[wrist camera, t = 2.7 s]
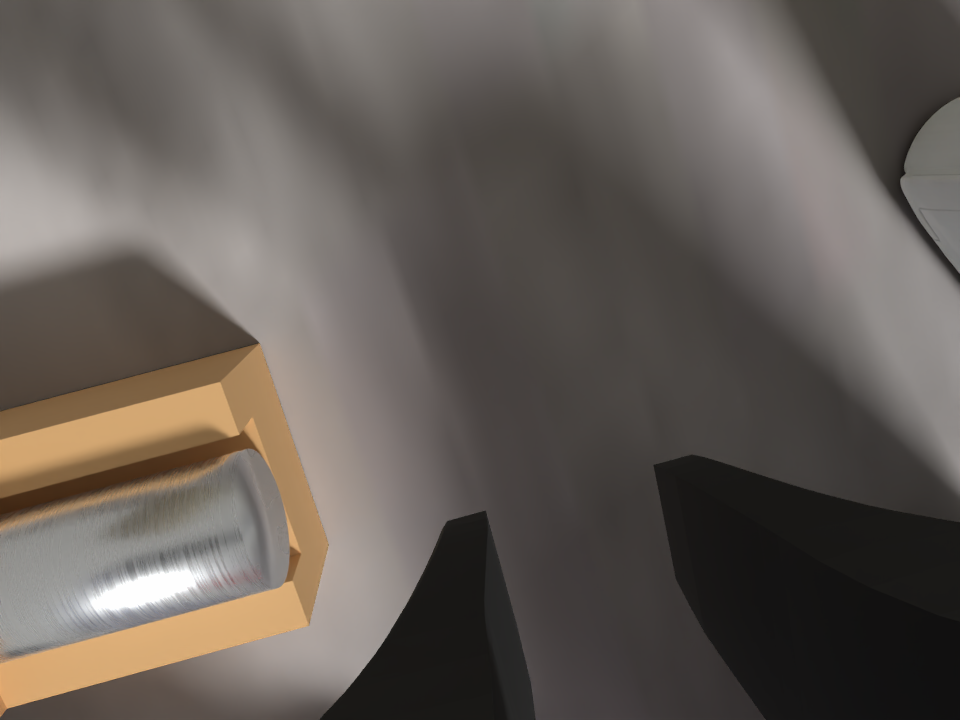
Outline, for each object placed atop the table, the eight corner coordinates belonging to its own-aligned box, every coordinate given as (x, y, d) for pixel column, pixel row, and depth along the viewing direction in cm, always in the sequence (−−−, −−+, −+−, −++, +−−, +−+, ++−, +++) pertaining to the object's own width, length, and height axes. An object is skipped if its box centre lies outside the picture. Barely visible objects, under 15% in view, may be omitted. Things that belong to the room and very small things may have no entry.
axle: (256, 428, 16) (221, 485, 13) (297, 541, 16) (273, 618, 14) (-178, 543, 15) (-314, 628, 13) (-115, 653, 16) (-229, 756, 13)
